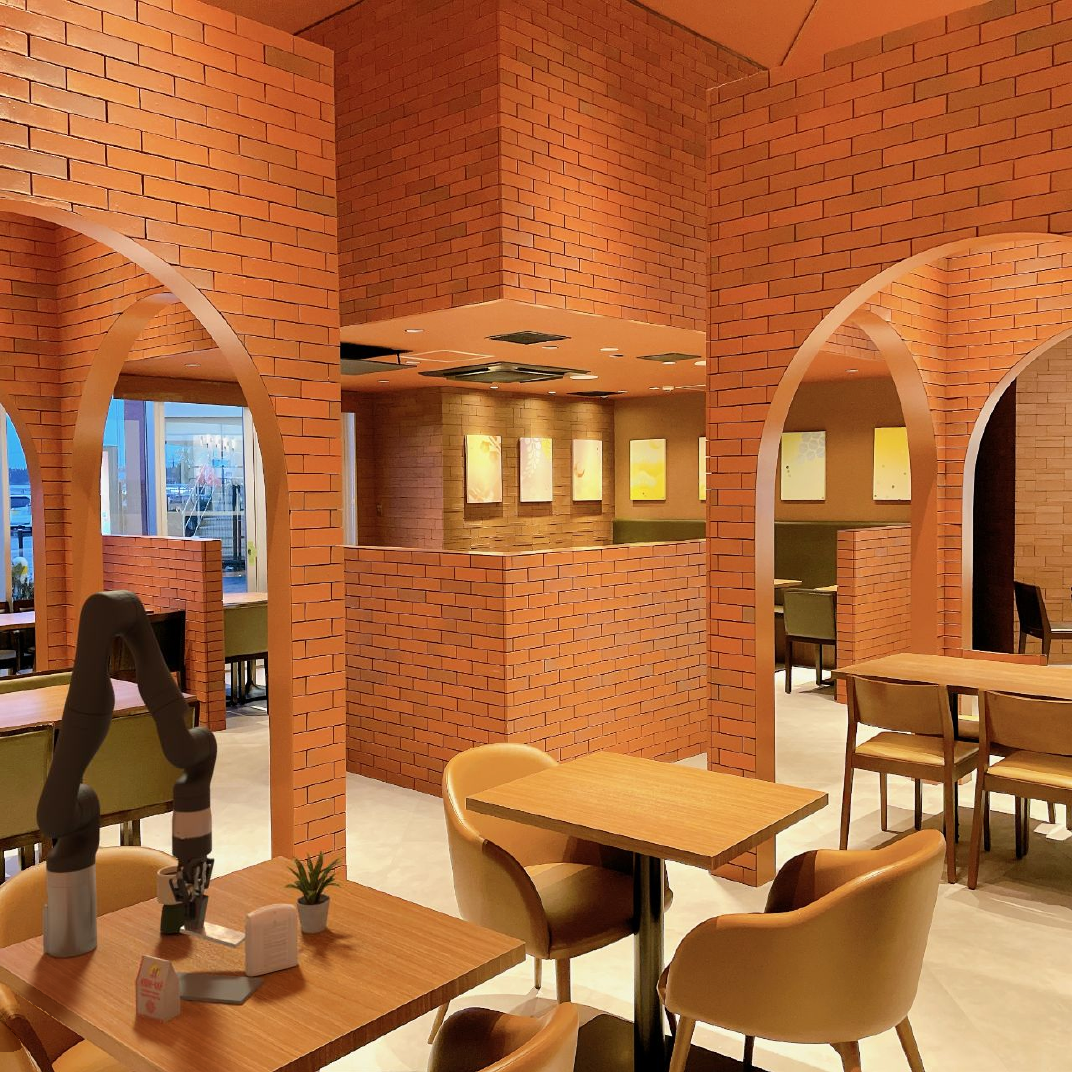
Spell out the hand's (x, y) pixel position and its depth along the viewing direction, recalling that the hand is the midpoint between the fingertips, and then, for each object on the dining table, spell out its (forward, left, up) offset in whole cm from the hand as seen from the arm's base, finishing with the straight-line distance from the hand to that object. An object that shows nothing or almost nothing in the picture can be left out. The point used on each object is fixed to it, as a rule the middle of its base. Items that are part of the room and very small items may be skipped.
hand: (192, 916), depth 200 cm
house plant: (+18, +19, -9) cm, 28 cm away
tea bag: (+5, -20, -9) cm, 23 cm away
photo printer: (+17, 0, -9) cm, 19 cm away
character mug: (-12, +14, -9) cm, 21 cm away
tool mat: (+9, -10, -9) cm, 16 cm away
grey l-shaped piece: (+4, 0, -3) cm, 6 cm away
